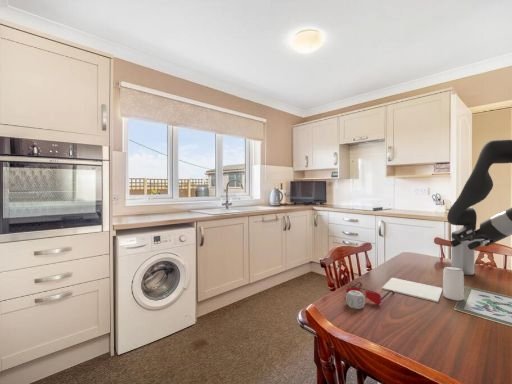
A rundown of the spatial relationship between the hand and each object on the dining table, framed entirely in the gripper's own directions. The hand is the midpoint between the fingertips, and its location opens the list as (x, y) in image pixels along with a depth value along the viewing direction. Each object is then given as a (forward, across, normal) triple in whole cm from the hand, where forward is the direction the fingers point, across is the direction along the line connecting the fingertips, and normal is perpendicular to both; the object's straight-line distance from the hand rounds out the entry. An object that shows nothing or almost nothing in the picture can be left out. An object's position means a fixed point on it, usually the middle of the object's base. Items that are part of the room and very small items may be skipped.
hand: (460, 246), depth 101 cm
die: (+22, +38, +20) cm, 49 cm away
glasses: (+27, +26, +14) cm, 40 cm away
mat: (+24, +6, +10) cm, 27 cm away
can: (+14, -3, +16) cm, 21 cm away
